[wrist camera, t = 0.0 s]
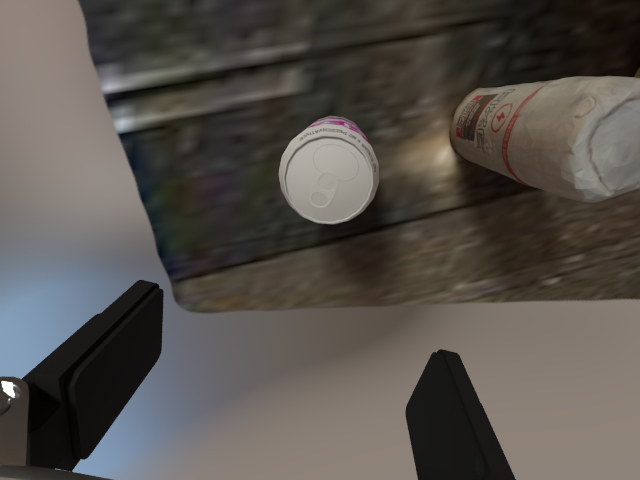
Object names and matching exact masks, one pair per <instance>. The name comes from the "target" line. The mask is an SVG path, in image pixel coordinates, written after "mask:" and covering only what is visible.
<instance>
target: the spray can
mask: <svg viewBox="0 0 640 480" xmlns="http://www.w3.org/2000/svg"><path fill="white" fill-rule="evenodd" d="M450 140H451V142H452V145H453V147H454V149H455V151H456V152H457V153H458V154H459V155H460V156H461V157H463V158H465V159H466V160H468V161H469V162H472V163H476V164H479V165H481V166H483V167H486V168H488V169H490V170H493V171H496V172H498V173H500V174H503V175H505V176H507V177H510V178H512V179H514V180H516V181H517V182H519V183H522V184H524V185H527V186H531V187H534V188H539V189H542V190H544V191H546V192H549V193H552V194H555V195H558V196H562V197H565V198H568V199H571V200H575V201H581V202H588V203H595V202H601V201H604V200H606V199H609V198H612V197H615V196H618V195H621V194H624V193H627V192H630V191H633V190H636V189H639V188H640V78H634V77H619V76H602V77H584V76H576V77H568V78H562V79H559V80H552V81H545V82H535V83H526V84H519V85H511V86H504V87H497V88H495V87H493V88H491V87H489V88H478V89H476V90H475V91H473V92H472V93H470V94H468V95H467V96H466V97H465V98H464V100H463V101H462V102H461V103H460V105H459V106H458V108H457V109H456V112H455V115H454V118H453V121H452V123H451V126H450Z"/></svg>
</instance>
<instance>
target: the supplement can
mask: <svg viewBox="0 0 640 480" xmlns="http://www.w3.org/2000/svg"><path fill="white" fill-rule="evenodd" d="M279 179H280V185H281V191H282V192H283V194H284V196H285V198H286V200H287V202H288V204H289V205H290V206H291V207H292V208H293V209H294V210H295V211H296V212H297V213H299V214H300V215H301V216H302V217H304V218H307V219H309V220H311V221H313V222H316V223H322V224H337V223H341V222H345V221H349V220H351V219H352V218H354V217H356V216H357V215H359V214H360V213H362V212H363V211H364V210H365V209H366V207H367V206H368V205H369V204H370V202H371V201H372V200H373V198H374V196H375V193H376V190H377V187H378V184H379V164H378V161H377V159H376V156H375V154H374V152H373V149H372V147H371V145H370V143H369V142H368V140H367V138H366V136H365V135H364V133H363V131H362V130H361V129H360V128H359V127H358V126H357V125H356V124H355V123H354V122H352V121H350V120H348V119H346V118H344V117H336V116H329V117H325V118H322V119H319V120H317V121H316V122H314V123H313V124H312V125H310V126H309V127H308V128H307V129H305V130H304V131H303V132H302V133H300V134H299V135H298V136H297V137H295V138H294V139H293V140H292V141H291V142H290V144H289V145H288V147H287V149H286V150H285V152H284V154H283V155H282V159H281V164H280V169H279Z"/></svg>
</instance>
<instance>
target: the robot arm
mask: <svg viewBox="0 0 640 480" xmlns="http://www.w3.org/2000/svg"><path fill="white" fill-rule="evenodd" d="M162 319H163V290H162V289H159V285H158V284H157V283H152V282H148V281H144V280H139V281H137V282H136V283H135V284H134V285H133V286H131V287H130V288H129V289H128V290H127V291H126V292H125V293H123V294H122V295H121V296H120V297H119V298H118V299H117V300H116V301H115V302H113V303H112V304H111V305H110V306H109V307H108V308H106V309H105V310H104V311H103V312H102V313H100V314H97V315H95V316H94V317H92V318H91V319H90V320H89V321H88V322H87V323H85V325H83V326H82V327H81V328H80V329H79V330H77V331H76V332H75V333H74V334H73V335H72V336H70V337H69V338H68V339H67V340H66V341H65V342H64V343H63V344H61V345H60V346H59V347H58V348H57V349H56V350H54V351H53V352H52V353H51V354H50V355H49V356H47V357H46V358H45V359H44V360H43V361H42V362H41V363H40V364H38V365H37V366H36V367H35V368H34V369H33V370H31V371H30V372H29V373H28V374H27V375H26V376H25V377H23V378H22V379H19V378H16V377H0V480H112V479H107V478H101V477H96V476H90V475H85V474H80V473H74V472H72V470H73V469H74V467H75V466H76V465H77V463H78V462H79V461H80V459H86V458H88V457H89V455H90V454H91V453H92V452H93V450H94V449H95V447H96V446H97V445H98V443H99V442H100V440H101V439H102V438H103V436H104V435H105V433H106V432H107V431H108V429H109V428H110V426H111V425H112V423H113V422H114V421H115V419H116V418H117V417H118V415H119V414H120V412H121V411H122V410H123V408H124V406H125V405H126V404H127V403H128V401H129V400H130V398H131V397H132V395H133V394H134V393H135V391H136V390H137V388H138V387H139V386H140V384H141V383H142V381H143V380H144V379H145V377H146V376H147V374H148V373H149V372H150V370H151V369H152V367H153V366H154V365H155V363H156V362H157V360H158V358H159V356H160V354H161V347H162V321H163V320H162ZM406 420H407V425H408V430H409V435H410V440H411V445H412V451H413V455H414V460H415V466H416V471H417V476H418V480H516V479H515V477H514V475H513V473H512V470H511V468H510V466H509V464H508V462H507V459H506V457H505V455H504V453H503V450H502V449H501V446H500V444H499V442H498V439H497V437H496V435H495V433H494V431H493V428H492V426H491V424H490V422H489V419H488V418H487V415H486V413H485V411H484V408H483V406H482V404H481V403H480V401H479V398H478V396H477V394H476V392H475V390H474V387H473V385H472V383H471V381H470V378H469V376H468V374H467V372H466V370H465V367H464V365H463V363H462V361H461V358H460V356H459V355H458V354H457V353H454V352H450V351H446V350H442V349H441V350H438V351H437V353H436V352H433V353H432V355H431V357H430V359H429V361H428V363H427V365H426V367H425V369H424V371H423V373H422V375H421V377H420V379H419V381H418V383H417V385H416V387H415V389H414V391H413V394H412V396H411V398H410V400H409V402H408V404H407V406H406ZM55 468H56V469H61V470H55ZM64 470H66V471H64ZM69 471H70V472H69Z"/></svg>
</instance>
